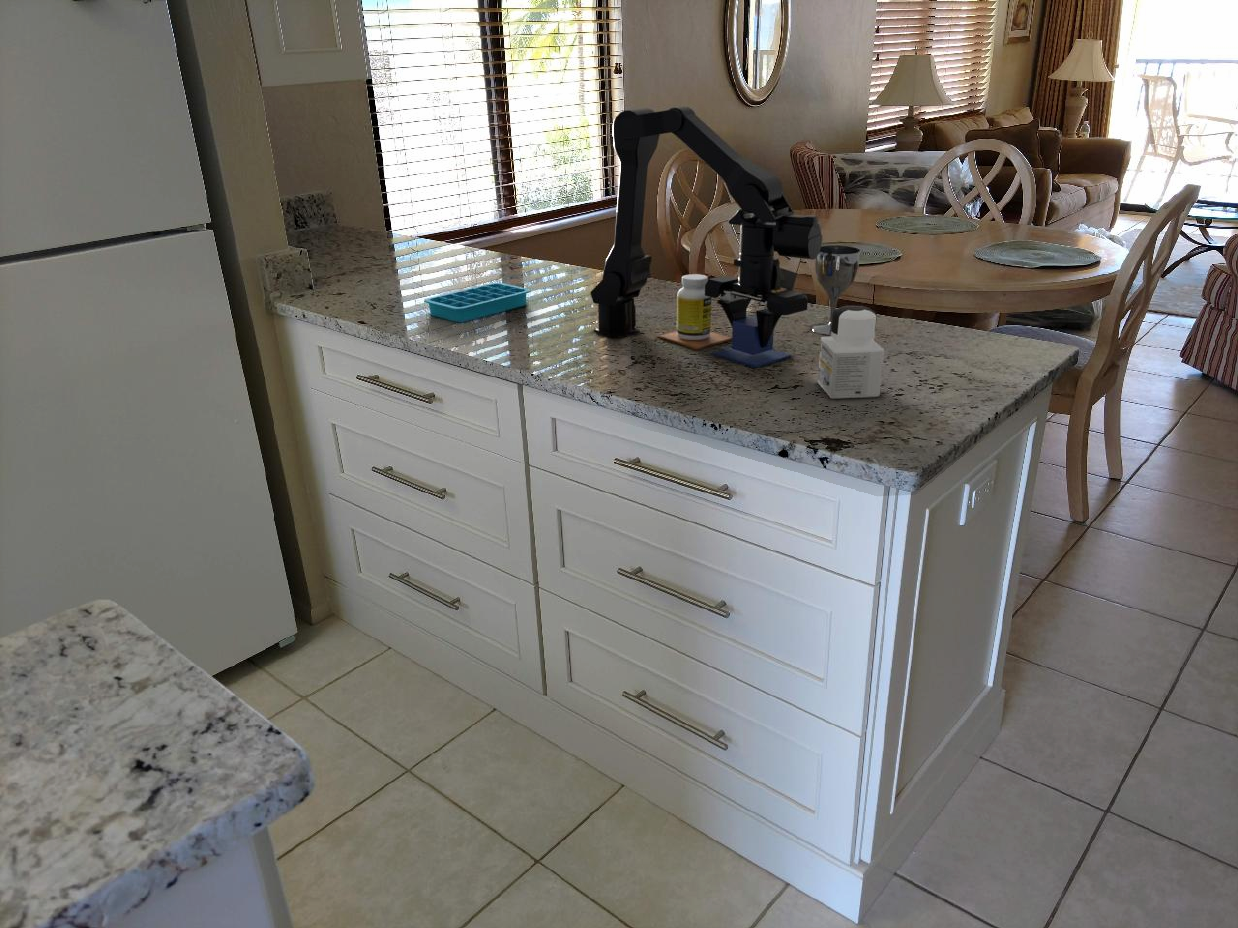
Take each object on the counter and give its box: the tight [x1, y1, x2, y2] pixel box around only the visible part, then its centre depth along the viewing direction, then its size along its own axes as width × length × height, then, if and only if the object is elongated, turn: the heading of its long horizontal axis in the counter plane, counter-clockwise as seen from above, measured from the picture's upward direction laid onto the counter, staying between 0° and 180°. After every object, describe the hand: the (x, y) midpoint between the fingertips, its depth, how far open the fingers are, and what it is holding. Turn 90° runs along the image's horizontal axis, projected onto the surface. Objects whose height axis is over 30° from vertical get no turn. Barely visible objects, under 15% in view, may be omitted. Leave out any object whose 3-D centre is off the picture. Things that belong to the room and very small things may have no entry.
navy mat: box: [712, 346, 792, 369], centre depth 166 cm, size 9×10×1 cm
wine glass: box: [811, 245, 861, 336], centre depth 177 cm, size 8×8×15 cm
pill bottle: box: [676, 273, 712, 340], centre depth 174 cm, size 6×6×11 cm
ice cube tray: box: [423, 282, 532, 323], centre depth 196 cm, size 12×20×3 cm, turn 138°
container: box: [817, 305, 885, 400], centre depth 147 cm, size 8×8×13 cm
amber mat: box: [658, 330, 732, 350], centre depth 176 cm, size 9×10×1 cm
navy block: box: [731, 315, 775, 355], centre depth 165 cm, size 5×5×5 cm
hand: (752, 343), depth 165 cm, fingers closed on navy block, 5 cm apart
